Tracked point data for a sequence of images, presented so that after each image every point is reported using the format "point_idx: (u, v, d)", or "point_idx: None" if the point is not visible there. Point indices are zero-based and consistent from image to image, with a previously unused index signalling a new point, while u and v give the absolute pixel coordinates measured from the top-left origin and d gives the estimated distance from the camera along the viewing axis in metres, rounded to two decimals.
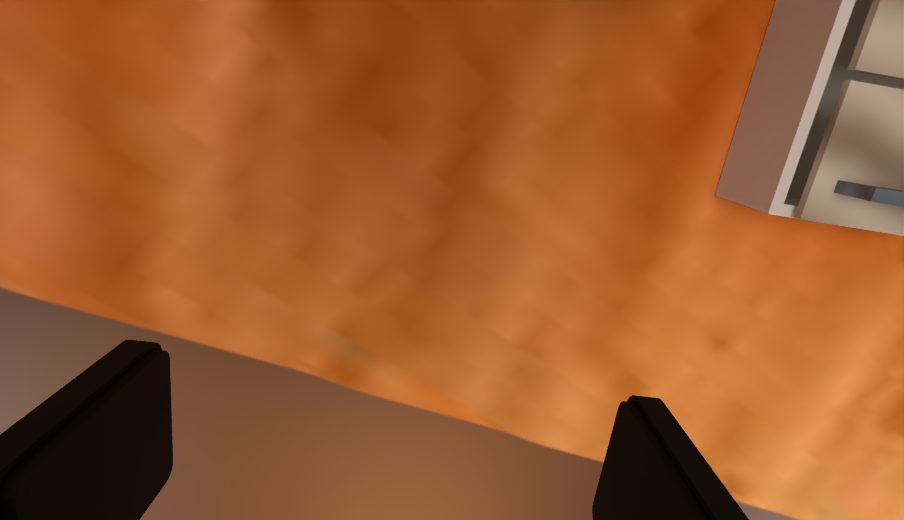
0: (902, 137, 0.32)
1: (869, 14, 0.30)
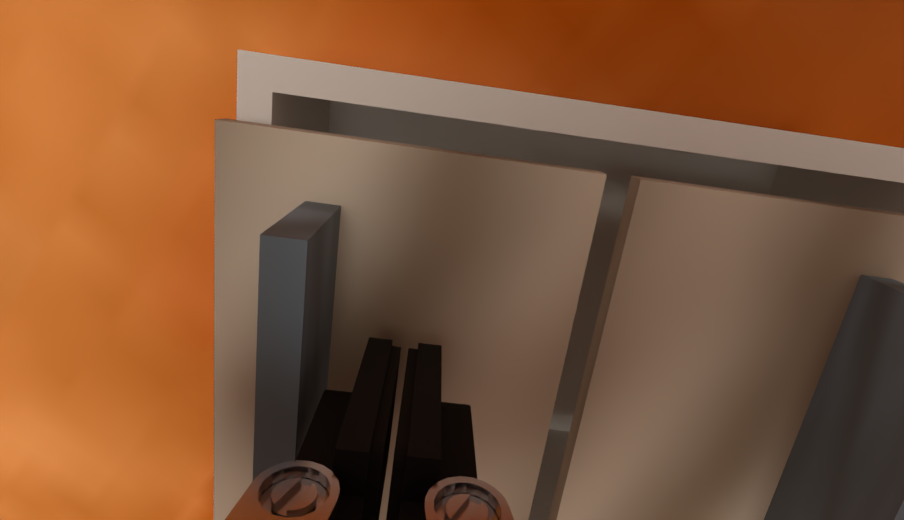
0: (459, 341, 0.13)
1: (760, 194, 0.12)
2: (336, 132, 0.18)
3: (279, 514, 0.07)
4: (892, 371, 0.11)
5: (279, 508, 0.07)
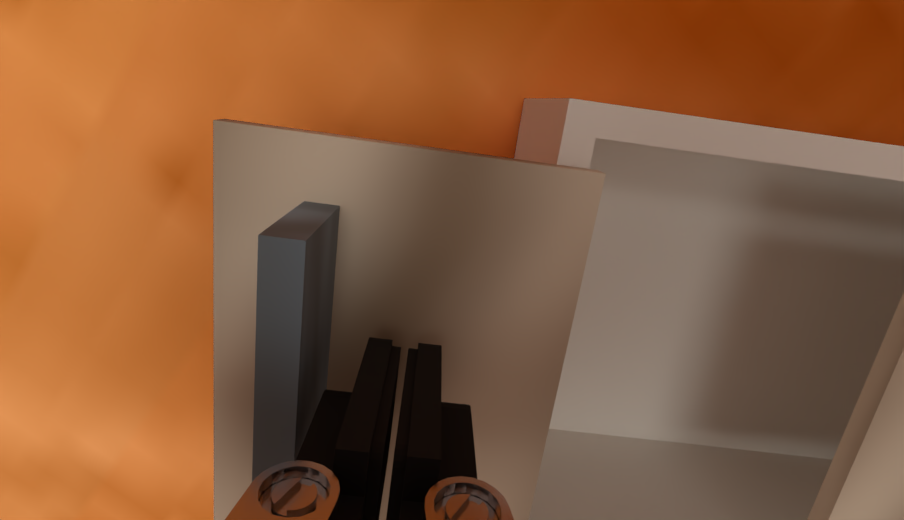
0: (459, 341, 0.13)
1: None
2: None
3: (279, 514, 0.07)
4: None
5: (279, 508, 0.07)
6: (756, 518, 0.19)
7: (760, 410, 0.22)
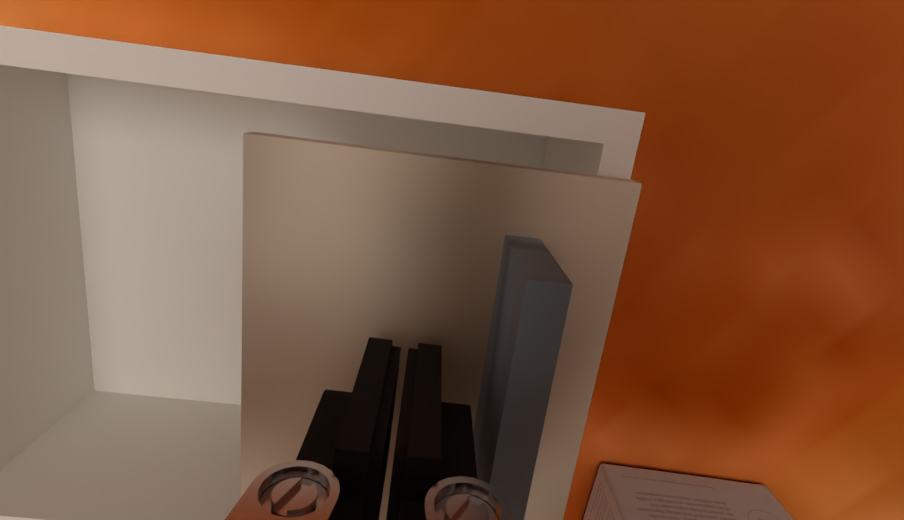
0: None
1: (392, 150, 0.11)
2: (79, 105, 0.18)
3: (279, 514, 0.07)
4: (502, 334, 0.10)
5: (279, 508, 0.07)
6: None
7: None
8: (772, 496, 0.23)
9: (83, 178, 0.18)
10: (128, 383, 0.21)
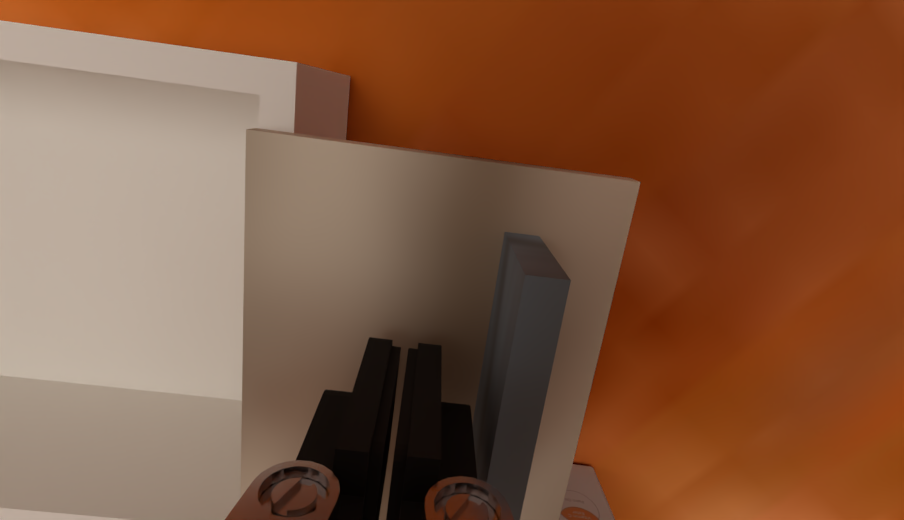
0: None
1: (393, 147, 0.11)
2: None
3: (279, 514, 0.07)
4: (500, 329, 0.11)
5: (279, 508, 0.07)
6: (59, 455, 0.17)
7: (180, 350, 0.20)
8: (594, 477, 0.22)
9: None
10: None
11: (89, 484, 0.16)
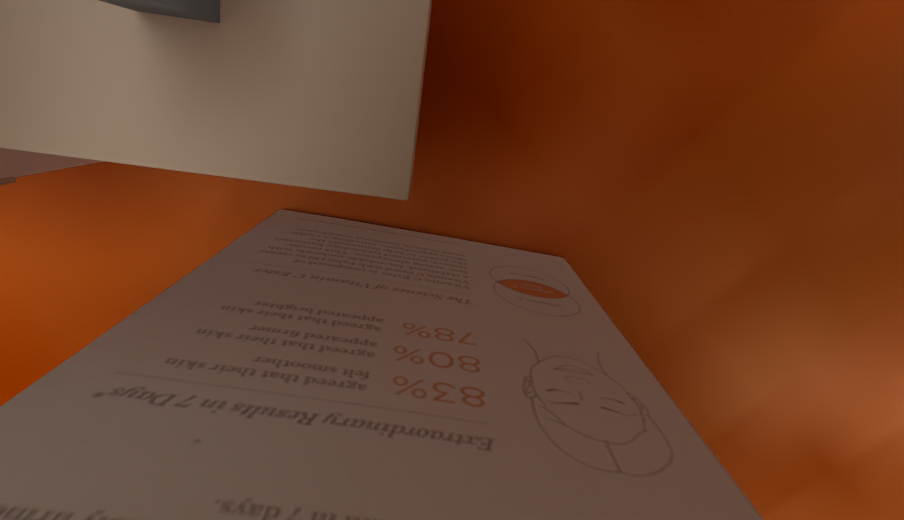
0: None
1: None
2: None
3: None
4: None
5: None
6: None
7: None
8: (565, 264, 0.13)
9: None
10: None
11: None
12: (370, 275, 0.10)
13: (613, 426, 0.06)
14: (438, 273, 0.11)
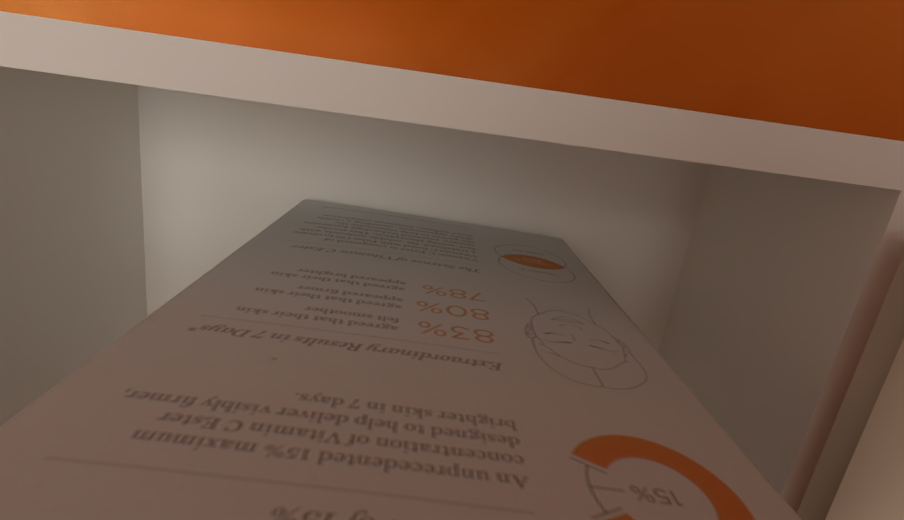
0: None
1: None
2: (149, 121, 0.14)
3: None
4: None
5: None
6: None
7: None
8: (562, 243, 0.15)
9: (151, 208, 0.15)
10: None
11: None
12: (391, 250, 0.11)
13: (599, 358, 0.08)
14: (449, 249, 0.12)
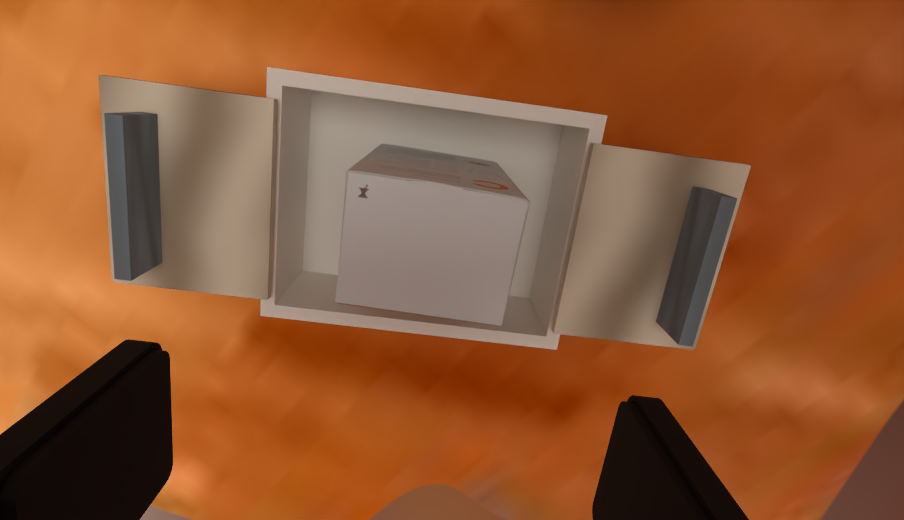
0: (220, 180, 0.27)
1: None
2: (315, 109, 0.33)
3: None
4: (699, 223, 0.27)
5: None
6: None
7: None
8: (495, 162, 0.34)
9: (312, 148, 0.34)
10: (322, 266, 0.36)
11: None
12: (423, 156, 0.30)
13: (488, 176, 0.27)
14: (445, 158, 0.31)
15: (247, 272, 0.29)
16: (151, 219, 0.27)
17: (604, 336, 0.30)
